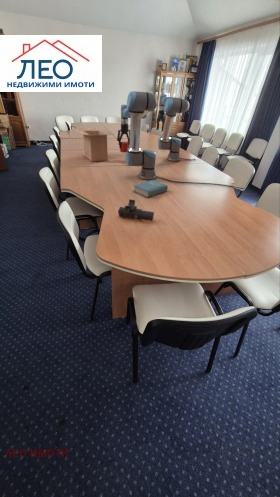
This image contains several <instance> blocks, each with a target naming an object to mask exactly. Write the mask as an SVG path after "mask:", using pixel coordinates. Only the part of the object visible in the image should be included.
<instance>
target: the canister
mask: <svg viewBox="0 0 280 497" xmlns="http://www.w3.org/2000/svg"><path fill="white" fill-rule="evenodd" d="M120 142H121V149H120V148H119V152H121V153H124V154H126V152H128V142H127V141H120Z"/></svg>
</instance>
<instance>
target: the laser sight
mask: <svg viewBox="0 0 280 497" xmlns="http://www.w3.org/2000/svg"><path fill="white" fill-rule="evenodd" d="M135 204H136V200H135V199H128V204H127V205H125V206H124V207H123V206H119V209H118V210H117V213H118V216H119V217H122V218H124V219H125V218H126V219H131V220H132V219H133V220H137V221H141V220H142V221H143V220H145V221H151V222H153V221H154V217H155V211H150V210H143V208H138V206H137V205H135Z"/></svg>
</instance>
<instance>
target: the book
mask: <svg viewBox="0 0 280 497" xmlns="http://www.w3.org/2000/svg"><path fill="white" fill-rule="evenodd" d="M168 187H169V186H168V184H166V183H164V182H160V181H159V180H156V179H153V180H146V181H143V182H140V183H137V184H134V185H133V193H135V194H138V195H140V196H142V197H145V198H150V197H153V196H156V195H159V194H161V193H164V192H167V191H168Z"/></svg>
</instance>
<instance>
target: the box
mask: <svg viewBox="0 0 280 497" xmlns="http://www.w3.org/2000/svg"><path fill="white" fill-rule="evenodd" d="M74 132H77V133H78V134H80V135H82V140H83V152H84V156H85V157H86V158H87V159H88V160H89V161H90V162H102V161H105V162H106V161H108V136H111V135H112V136H113V135H115V133H114V132H113V131H112V132H111V131H109V130H108V129H100V130H98V129H97V128H80V129H74Z"/></svg>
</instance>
